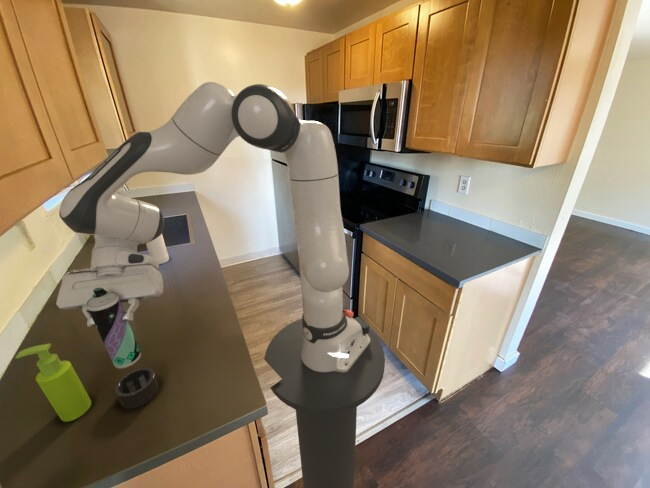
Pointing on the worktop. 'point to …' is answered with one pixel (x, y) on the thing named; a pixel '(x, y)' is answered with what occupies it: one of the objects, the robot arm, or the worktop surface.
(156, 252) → the bottle
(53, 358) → the soap dispenser
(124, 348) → the spray can
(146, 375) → the dark round bowl
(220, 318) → the worktop surface
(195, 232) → the worktop surface
